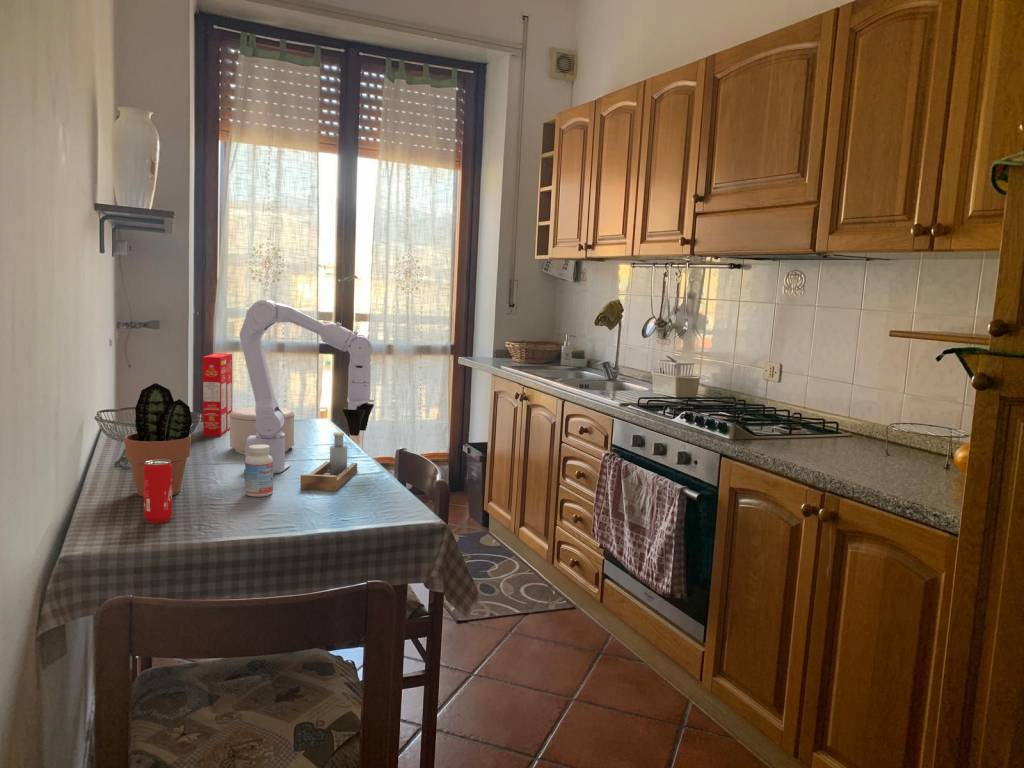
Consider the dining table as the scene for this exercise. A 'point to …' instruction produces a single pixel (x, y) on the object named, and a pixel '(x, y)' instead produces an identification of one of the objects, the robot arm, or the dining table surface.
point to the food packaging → (217, 393)
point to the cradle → (326, 478)
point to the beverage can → (157, 490)
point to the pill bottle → (259, 471)
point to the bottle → (338, 454)
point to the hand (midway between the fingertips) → (358, 432)
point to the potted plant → (159, 435)
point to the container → (245, 427)
